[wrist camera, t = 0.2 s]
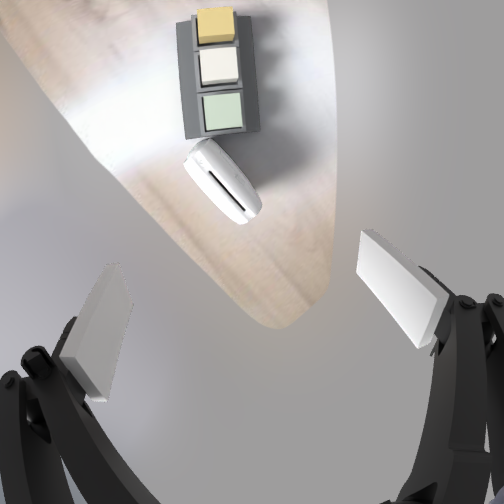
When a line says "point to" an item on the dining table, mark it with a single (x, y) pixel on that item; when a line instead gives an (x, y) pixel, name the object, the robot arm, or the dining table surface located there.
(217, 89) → the keypad
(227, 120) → the key sage
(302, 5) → the dining table surface
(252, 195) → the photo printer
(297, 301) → the dining table surface
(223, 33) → the key ochre
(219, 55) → the key ivory
